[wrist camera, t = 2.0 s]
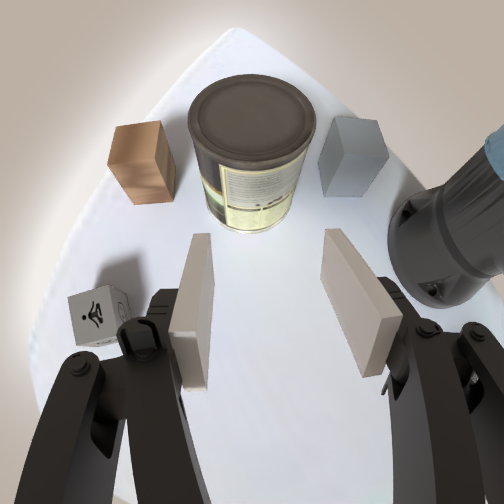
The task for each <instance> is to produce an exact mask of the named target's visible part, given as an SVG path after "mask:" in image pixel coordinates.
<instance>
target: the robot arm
mask: <svg viewBox="0 0 504 504" xmlns="http://www.w3.org/2000/svg"><path fill="white" fill-rule="evenodd" d="M388 250H389V255H390V260H391V263H392V266H393V269H394V271H395V273H396V275H397V277H398V279H399V281H400V282H401V284H402V285H403V287H404V288H405V289H406V290H407V292H408V293H409V294H410V295H411V296H412V297H414V298H415V299H416V300H417V301H419V302H420V303H422V304H424V305H426V306H429V307H432V308H437V309H445V308H450V307H453V306H457V305H460V304H462V303H464V302H466V301H468V300H469V299H470V298H471V297H473V296H474V295H475V294H476V293H477V292H478V291H479V290H480V289H481V288H482V286H483V285H484V284H485V283H486V282H487V281H488V280H489V279H490V278H491V277H494V276H496V275H498V274H501V273H503V274H504V125H502V126H501V127H500V128H499V129H498V130H497V131H496V132H493V133H491V134H490V135H489V136H488V137H487V139H486V140H485V144H484V146H483V147H482V148H481V149H480V150H479V151H478V152H477V153H476V154H475V155H474V156H473V157H472V158H471V159H470V160H469V161H468V162H467V163H466V164H465V165H464V166H462V167H461V168H460V169H459V170H458V171H457V172H456V173H455V174H454V175H453V176H452V177H451V178H450V179H449V180H448V181H447V182H446V183H445V184H444V185H441V186H438V187H435V188H432V189H429V190H425V191H422V192H419V193H417V194H415V195H413V196H411V197H410V198H409V199H407V200H406V201H405V202H404V203H403V204H402V205H401V206H400V207H399V208H398V210H397V211H396V212H395V214H394V216H393V218H392V220H391V223H390V227H389V232H388ZM320 279H321V282H322V284H323V286H324V288H325V290H326V293H327V295H328V297H329V299H330V302H331V304H332V306H333V309H334V311H335V313H336V315H337V318H338V320H339V322H340V325H341V327H342V329H343V332H344V334H345V337H346V339H347V341H348V344H349V346H350V348H351V351H352V353H353V356H354V358H355V361H356V363H357V366H358V368H359V371H360V373H361V376H362V378H365V377H370V376H376V375H381V374H382V372H383V370H384V367H385V365H386V364H387V366H388V368H389V370H390V373H389V376H388V378H387V380H386V382H385V385H384V387H383V389H382V393H381V395H384V394H385V392H386V390H387V388H388V395H389V405H390V417H391V430H392V448H393V504H486V503H485V497H486V499H487V502H488V504H504V349H503V347H502V346H501V345H500V343H499V342H498V341H497V339H496V338H495V337H494V335H493V334H492V333H491V332H490V330H489V329H488V328H486V327H485V326H484V325H482V324H480V323H476V322H468V323H466V324H464V326H463V327H462V330H461V332H460V333H451V332H443V330H442V328H441V327H440V326H439V325H438V324H437V323H436V322H434V321H432V320H430V319H425V318H421V317H420V316H419V314H418V313H417V311H416V310H415V309H414V307H413V306H412V305H411V303H410V302H409V300H408V299H407V298H406V296H405V295H404V294H403V292H401V290H400V288H399V287H398V286H397V285H396V283H395V282H393V281H392V280H390V279H389V278H387V277H376V276H375V274H374V273H373V271H372V270H371V269H370V267H369V266H368V265H367V263H366V262H365V260H364V259H363V258H362V256H361V255H360V254H359V252H358V251H357V250H356V248H355V247H354V246H353V244H352V243H351V242H350V241H349V239H348V238H347V237H346V235H345V234H344V233H343V231H342V230H341V229H325V237H324V248H323V258H322V268H321V277H320ZM214 285H215V283H214V272H213V261H212V250H211V238H210V233H202V234H193V238H192V241H191V245H190V248H189V252H188V256H187V259H186V263H185V267H184V271H183V274H182V278H181V282H180V286H179V289H160V290H159V291H158V292H157V293H156V294H155V295H154V296H153V297H152V299H151V302H150V305H149V308H148V311H147V315H146V316H145V317H136V318H133V319H129V320H128V321H126V322H124V323H123V324H122V325H121V326H120V327H119V328H118V330H117V333H116V337H117V340H118V342H119V345H120V347H121V350H122V353H123V356H120V357H117V358H113V359H108V360H103V361H99V358H98V356H97V355H95V354H94V353H93V352H88V351H81V352H77V353H74V354H72V355H71V356H69V357H68V358H67V359H66V360H65V361H64V363H63V364H62V366H61V368H60V371H59V373H58V375H57V377H56V380H55V382H54V384H53V387H52V389H51V392H50V394H49V396H48V399H47V401H46V404H45V407H44V409H43V412H42V414H41V417H40V420H39V422H38V425H37V428H36V431H35V434H34V436H33V439H32V442H31V445H30V448H29V451H28V455H27V458H26V461H25V464H24V468H23V471H22V475H21V478H20V482H19V486H18V490H17V494H16V498H15V502H14V504H112V497H113V490H114V483H115V477H116V470H117V464H118V458H119V452H120V446H121V441H122V436H123V430H124V425H125V420H126V419H127V426H128V437H129V446H130V454H131V462H132V469H133V476H134V483H135V489H136V494H137V500H138V504H211V501H210V498H209V495H208V492H207V489H206V485H205V482H204V479H203V476H202V472H201V469H200V465H199V462H198V459H197V455H196V451H195V448H194V444H193V440H192V437H191V433H190V429H189V425H188V421H187V417H186V413H185V408H184V404H183V400H182V397H181V394H180V393H181V386H182V385H183V388H184V391H207V381H208V365H209V350H210V336H211V322H212V309H213V297H214ZM474 373H476V374H477V376H478V377H479V379H478V381H477V382H476V383H474V382H473V381H472V380H471V378H472V377H473V375H474Z"/></svg>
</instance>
